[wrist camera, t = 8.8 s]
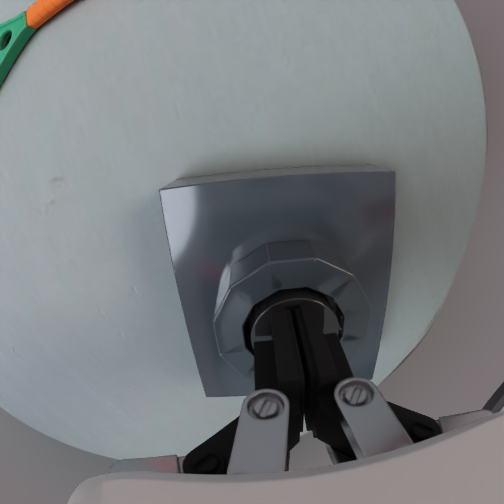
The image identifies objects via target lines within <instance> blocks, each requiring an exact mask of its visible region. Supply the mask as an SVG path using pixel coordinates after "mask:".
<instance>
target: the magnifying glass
mask: <svg viewBox="0 0 504 504" xmlns="http://www.w3.org/2000/svg"><path fill="white" fill-rule="evenodd" d="M72 1H74V0H38V1H37V2H35V3H34V4H33V5H32V6H31V7H29V8H28V9H27V10H26V11H25V12H22V13H21V14H19V15H18V16H16V17H14V18H12V19H10V20H8V21H6V22H4V23H2V24H0V86H1V84H2V83H3V81H4V79H5V77H6V75H7V73H8V72H9V70H10V68H11V66H12V65H13V63H14V61H15V60H16V58H17V56H18V55H19V53H20V52H21V50H22V48H23V47H24V45H25V44H26V42H27V41H28V39H29V38H30V37H31V35H32V34H33V33H34V32H35V31H36V29H37V28H38V27H40V26H41V25H42V24H43V23H44V22H46V21H47V20H48V19H49V18H51V17H52V16H53V15H55V14H56V13H57V12H59V11H60V10H61V9H63V8H64V7H65V6H67V5H68V4H69V3H71V2H72ZM11 34H12V37H11V40H10V42H9V44H8V45H7V47H6V48H5V44H6V41H7V39H8V37H9V36H10V35H11Z"/></svg>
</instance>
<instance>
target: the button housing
mask: <svg viewBox="0 0 504 504" xmlns="http://www.w3.org/2000/svg"><path fill="white" fill-rule="evenodd" d="M159 192H160V198H161V205H162V211H163V216H164V222H165V228H166V233H167V239H168V244H169V249H170V254H171V259H172V264H173V269H174V273H175V278H176V283H177V287H178V292H179V296H180V301H181V305H182V309H183V313H184V317H185V321H186V325H187V329H188V333H189V337H190V341H191V345H192V349H193V352H194V356H195V360H196V363H197V367H198V370H199V374H200V377H201V381H202V384H203V388H204V391H205V394H206V397H229V396H248V395H249V394H251V393H252V392H254V391H255V377H254V349H253V347H252V344H251V327H250V312H251V310H252V309H253V307H254V305H255V304H257V303H258V302H260V301H262V300H263V299H265V298H267V297H268V296H270V295H271V294H273V293H275V292H276V291H278V290H283V289H293V288H303V287H308V288H311V289H313V290H316V291H318V292H321V293H323V294H326V295H327V298H328V300H329V302H330V304H331V306H332V309H333V311H334V313H335V315H336V318H337V321H338V325H339V332H338V338H339V340H340V343H341V345H342V348H343V350H344V353H345V355H346V358H347V360H348V363H349V365H350V368H351V370H352V373H353V376H354V377H362V378H365V379H368V380H371V379H372V378H373V374H374V369H375V365H376V360H377V355H378V350H379V345H380V340H381V334H382V328H383V322H384V316H385V310H386V303H387V296H388V288H389V280H390V270H391V260H392V249H393V235H394V217H395V171H391V170H388V169H384V168H381V167H377V166H373V165H331V166H309V167H292V168H277V169H265V170H253V171H243V172H233V173H223V174H214V175H206V176H198V177H190V178H183V179H176V180H175V181H173V182H171V183H170V184H168V185H166V186H165V187H163V188H161V189H160V190H159Z"/></svg>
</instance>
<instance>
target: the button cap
mask: <svg viewBox="0 0 504 504" xmlns="http://www.w3.org/2000/svg"><path fill="white" fill-rule="evenodd" d="M309 303H313V304H314V307H315V310H316V313H317V315H318V318H319V321H320V324H321V327H322V329H323V332H324V334H329V333H336V334H337V336H338V332H339V325H338V321H337V318H336V315H335V313H334V311H333V309H332V306H331V304H330V302H329V300H328V298H327V295H326V294H323V293H321V292H318V291H316V290H313V289H311V288H308V287H303V288H293V289H283V290H278V291H276V292H275V293H273V294H271V295H270V296H268V297H267V298H265V299H263V300H262V301H260V302H258V303H257V304H255V305H254V307H253V309H252V310H251V312H250V327H251V344H252V347H253V349H254V342H255V341H267V340H273V339H272V325H271V312H270V307H280V306H284V308H285V310H287V309H290V312H291V316H292V321H293V325H294V309H296V308H299V305H300V304H309Z"/></svg>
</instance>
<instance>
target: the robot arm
mask: <svg viewBox="0 0 504 504" xmlns="http://www.w3.org/2000/svg"><path fill="white" fill-rule="evenodd" d="M270 312H271V325H272V339H273V340H267V341H255V342H254V377H255V391H254V392H252V393H251V394H249V395H248V396H247V397H246V398H245V399H244V401H243V404H242V408H241V412H240V416H239V417H237V418H236V419H235V420H233V421H232V422H231V423H229V424H228V425H227V426H225V427H224V428H223V429H221V430H220V431H219V432H217V433H216V434H215V435H213V436H212V437H210V438H209V439H208V440H206V441H205V442H203V443H202V444H201V445H199V446H198V447H196V448H195V449H193V450H192V451H191V452H190V453H188V454H187V455H186V456H182V457H177V455H169V456H160V457H149V458H136V459H123V460H118V461H117V462H115V463H113V464H112V466H111V467H110V468H109V471H108V474H105V475H100V476H96V477H93V478H90V479H87V480H85V481H84V482H82V483H81V484H80V485H79V486H78V487H77V488H76V489H75V491H74V492H73V494H72V495H71V497H70V499H69V501H68V503H67V504H504V406H503V407H502V409H501V410H500V411H499V412H497V413H494V414H493V413H492V412H491V411H488V410H477V411H472V412H467V413H462V414H456V415H450V416H443V417H439V419H438V420H434V419H432V418H430V417H428V416H425V415H422V414H419V413H417V412H414V411H411V410H408V409H406V408H403V407H401V406H398V405H396V404H393V403H391V402H388V401H386V400H385V399H384V397H383V395H382V394H381V392H380V391H379V390H378V388H377V386H376V385H375V384H374V383H373V382H371V381H370V380H368V379H365V378H362V377H354V376H353V373H352V370H351V368H350V365H349V363H348V360H347V358H346V355H345V353H344V350H343V348H342V345H341V343H340V340H339V338H338V336H337V334H336V333H329V334H324V332H323V329H322V327H321V324H320V321H319V318H318V315H317V313H316V310H315V307H314V304H313V303H309V304H300V305H299V308H296V309H294V325H293V321H292V316H291V312H290V309H287V310H285V308H284V306H280V307H270ZM304 417H305V423H306V428H307V431H311V430H312V431H313V437H314V438H318V439H319V440H321V441H323V442H325V443H326V448H327V451H328V453H329V455H330V458H331V460H332V463H333V465H328V466H322V467H316V468H309V469H302V470H293V471H289V458H290V450H291V449H292V448H293V447H294V446H295V445H296V444H297V443H298V442H299V439H300V432H303V419H304Z"/></svg>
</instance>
